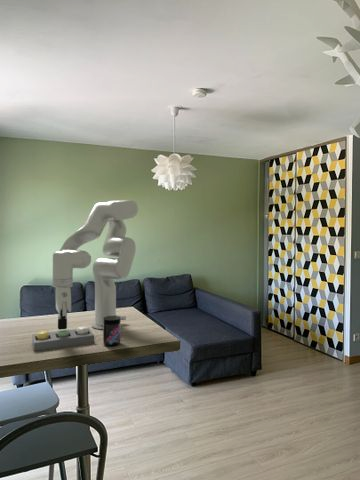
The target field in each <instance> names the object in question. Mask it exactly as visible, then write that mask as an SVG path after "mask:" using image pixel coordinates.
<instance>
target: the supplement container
mask: <svg viewBox="0 0 360 480" xmlns="http://www.w3.org/2000/svg"><path fill="white" fill-rule="evenodd" d="M119 316H120V315H117V316H106V317H104V318H103V329H102V330H103V331H102V332H103V334H102V335H103V336H102V340H103V341H102V342H103V345H104V346H105V347H112V348H114V347H117V346H119V345H120V344H121V321H122V320H121V317H119Z"/></svg>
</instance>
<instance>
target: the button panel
mask: <svg viewBox="0 0 360 480" xmlns="http://www.w3.org/2000/svg"><path fill="white" fill-rule="evenodd" d="M48 332H49V331H48ZM31 339H32V346H33V347H32V348H33V351H34V352H36V351H44V350H51V349H58V348H65V347H73V346H80V345H86V344H87V345H88V344H94V343H95V334H94V333H93V332H92V331H91V329H90V328H89V327H88V334H83V335H77V328H76V329H69V336H67V337H59V338H57V331H50V332H49V339H43V340H37V333H34V334H32V338H31Z"/></svg>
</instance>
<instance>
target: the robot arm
mask: <svg viewBox="0 0 360 480" xmlns="http://www.w3.org/2000/svg"><path fill="white" fill-rule="evenodd" d="M138 211H139V206H138V204H137V202H136V201H134V200H133V199H116V200H109V201H101V202H97V203H95V204H94V206H93V207H92V209H90V213H89V214H88V215H87V218H86V219H85V221H84V223H83V225H82V227H80V228H79V229H78V230H76V231H74V233H72V234H71V235H70V236H68V237H67V239H66V240H65V241H64V242H63V244H62V245H61V248H60V249H59V250H58V251H54V252H53V254H52V288H55V309H56V311H57V314H58V315H57V316H58V317H57V329H58V330H61V329H68V313H71V312H72V292H71V291H72V290H71V288H72V287H73V286H74V285H73V282H74V279H73V277H74V275H73V272H74V271H73V270H74V269H80V270H81V269H86V268H88V266H90V264H91V262H92V256H91V254H90V253H89V252H88V251H85V250H83V249H82V250H81V249H79V248H81V246H84V244H87V243H90V242H92V241H96V239H99V238H100V237H101V235H102V233H103V231H104V229H105V227H106V225H107V224H108V230H107V232H106V236H105V240H104V243H103V245H102V252H103V254H104V255H105V256H108V257H99V258H97V259H95V261H93V264H92V273H93V279H94V280H93V281H94V321H93V322H92V323H91V327H92V328H93V329H98V330H103V318H104V317H106V316H119V317H121V321H126V320H127V316H126V315H117V307H116V306H117V285H116V284H115V281H114V280H117V281H121V280H125V279H127V277H128V276H129V275H130V271H131V269H132V266H133V262H134V258H135V256H136V251H137V250H136V249H137V246H136V242H135V240H134V239H133V238H132V237H128V236H127V237H126V234H127V227H126V224H125V222H124V221H125V220H129V219H133V218H135V217H136V216H137V214H138Z"/></svg>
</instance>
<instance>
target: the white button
mask: <svg viewBox="0 0 360 480" xmlns="http://www.w3.org/2000/svg"><path fill="white" fill-rule="evenodd" d="M88 328H89V327H88V326H78V327H76V329H77V335H83V334H88Z"/></svg>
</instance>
